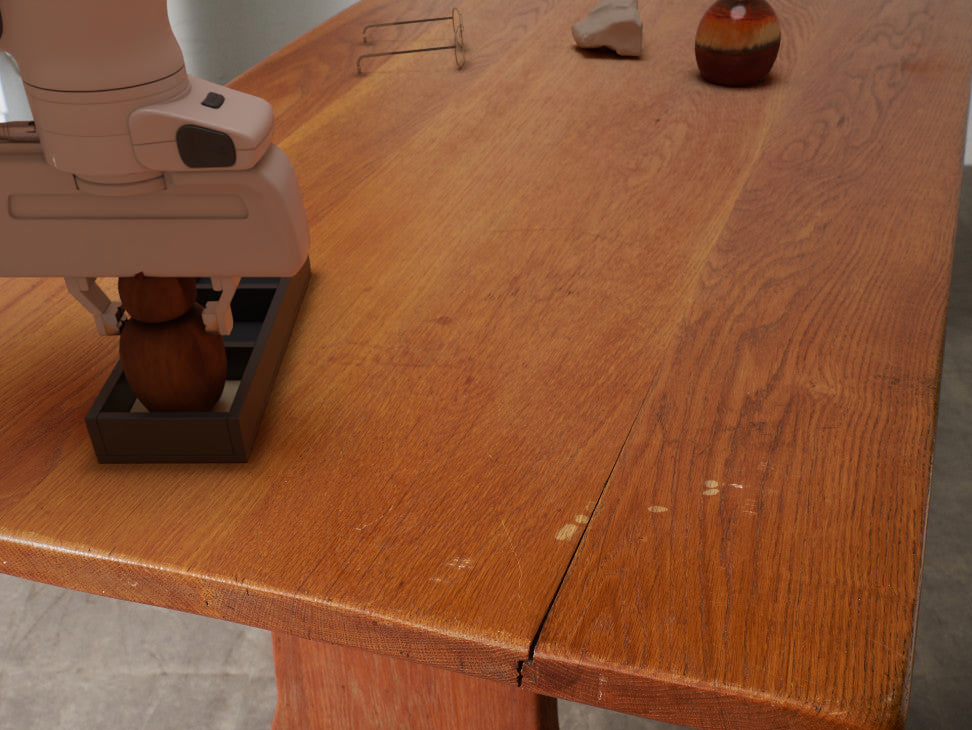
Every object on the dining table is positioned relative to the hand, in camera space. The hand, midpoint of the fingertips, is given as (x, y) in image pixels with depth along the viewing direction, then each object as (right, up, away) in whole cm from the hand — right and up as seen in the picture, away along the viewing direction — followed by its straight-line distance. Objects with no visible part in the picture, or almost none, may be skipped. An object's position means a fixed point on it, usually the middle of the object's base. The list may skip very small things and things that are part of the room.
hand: (168, 331), depth 67 cm
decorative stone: (+37, +54, +79) cm, 102 cm away
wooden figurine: (0, -5, +4) cm, 6 cm away
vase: (+53, +46, +69) cm, 98 cm away
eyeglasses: (+9, +53, +77) cm, 94 cm away
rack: (0, 0, +12) cm, 12 cm away
